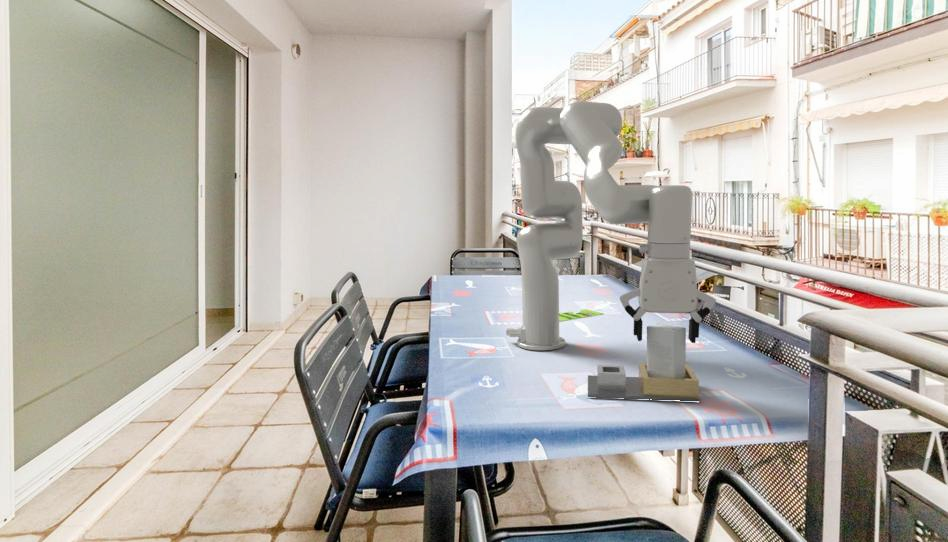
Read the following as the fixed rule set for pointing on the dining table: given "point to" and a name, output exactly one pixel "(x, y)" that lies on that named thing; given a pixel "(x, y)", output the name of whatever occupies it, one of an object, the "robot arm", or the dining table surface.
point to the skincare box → (666, 351)
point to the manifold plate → (642, 385)
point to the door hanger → (577, 315)
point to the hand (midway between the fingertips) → (665, 340)
